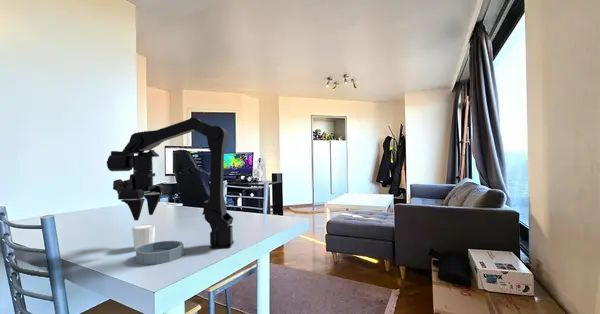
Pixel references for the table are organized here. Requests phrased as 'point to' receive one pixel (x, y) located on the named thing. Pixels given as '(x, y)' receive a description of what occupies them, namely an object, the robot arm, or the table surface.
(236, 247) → the table surface
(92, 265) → the table surface
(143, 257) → the bowl
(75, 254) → the table surface
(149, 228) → the shot glass
